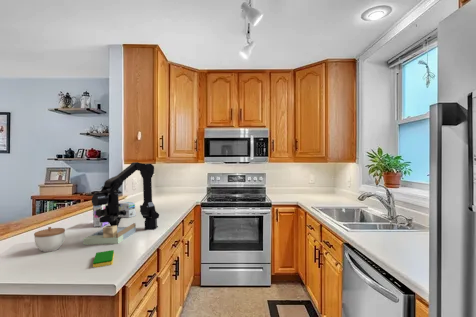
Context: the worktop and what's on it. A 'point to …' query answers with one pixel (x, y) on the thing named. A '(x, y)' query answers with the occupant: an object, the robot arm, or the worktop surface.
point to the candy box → (95, 217)
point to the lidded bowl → (49, 239)
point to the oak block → (109, 231)
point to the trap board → (120, 236)
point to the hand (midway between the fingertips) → (114, 231)
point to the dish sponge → (103, 258)
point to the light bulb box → (128, 209)
